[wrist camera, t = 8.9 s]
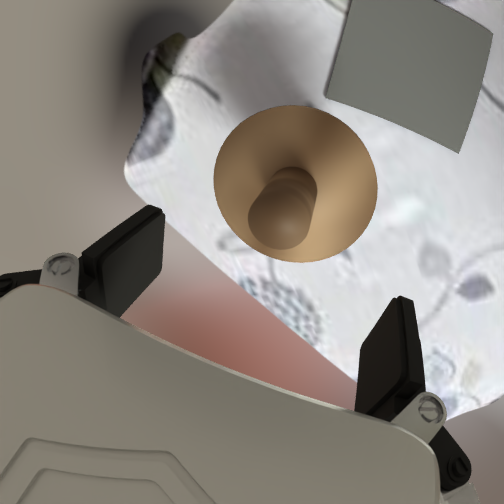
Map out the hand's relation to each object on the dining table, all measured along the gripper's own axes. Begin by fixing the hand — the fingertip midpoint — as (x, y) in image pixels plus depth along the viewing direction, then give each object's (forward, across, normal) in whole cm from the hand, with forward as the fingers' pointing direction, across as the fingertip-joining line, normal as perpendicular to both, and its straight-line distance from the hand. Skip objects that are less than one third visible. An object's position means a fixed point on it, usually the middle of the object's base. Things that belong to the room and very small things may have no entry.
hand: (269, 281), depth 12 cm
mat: (+21, -6, -13) cm, 25 cm away
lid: (+11, +1, 0) cm, 11 cm away
